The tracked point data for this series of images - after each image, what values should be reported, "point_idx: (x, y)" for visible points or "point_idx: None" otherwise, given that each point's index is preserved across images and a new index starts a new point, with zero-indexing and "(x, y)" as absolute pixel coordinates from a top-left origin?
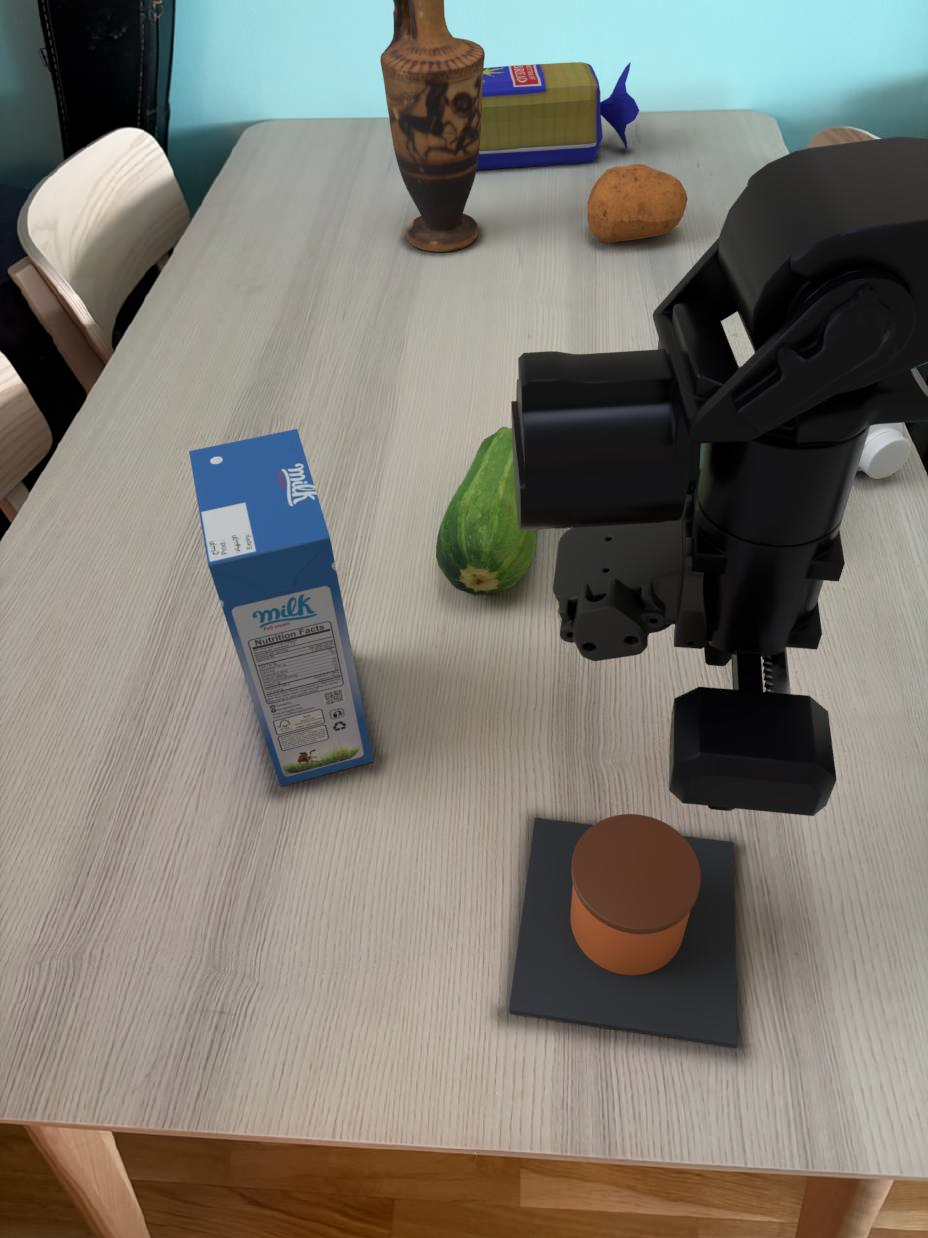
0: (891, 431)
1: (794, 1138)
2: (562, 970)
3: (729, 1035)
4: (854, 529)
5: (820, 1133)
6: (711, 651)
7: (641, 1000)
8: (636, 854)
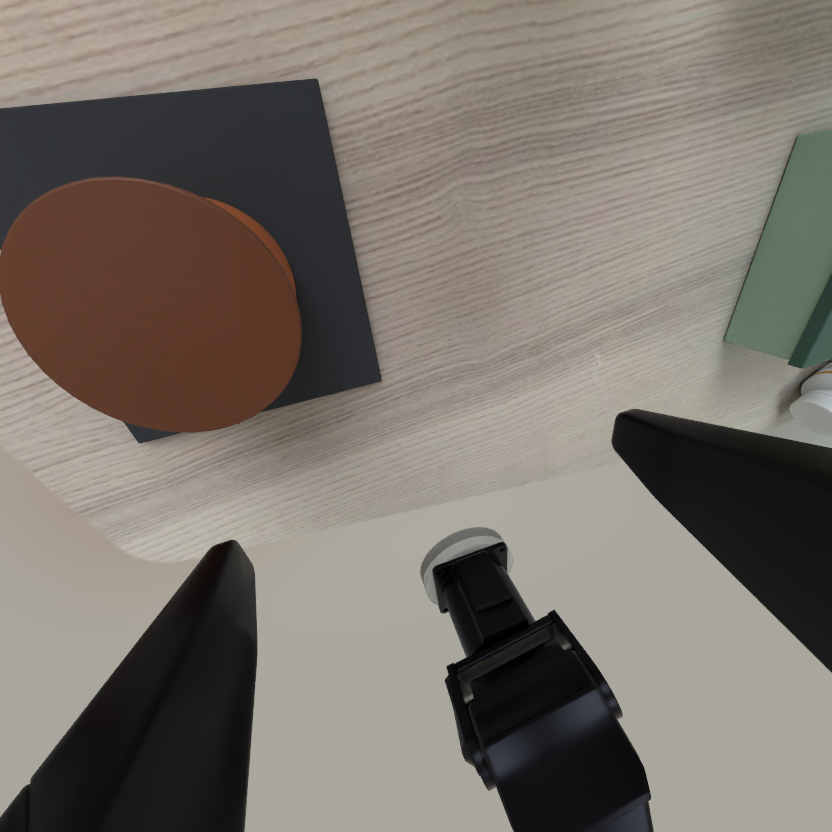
0: None
1: (89, 501)
2: None
3: (143, 434)
4: (740, 395)
5: (113, 515)
6: (657, 443)
7: None
8: (203, 320)
